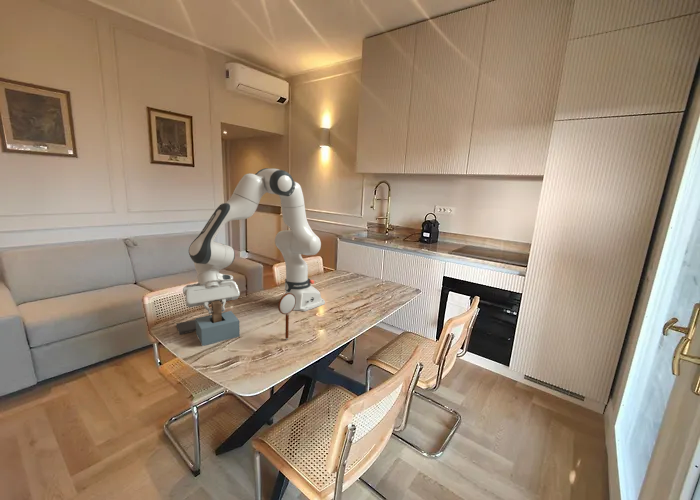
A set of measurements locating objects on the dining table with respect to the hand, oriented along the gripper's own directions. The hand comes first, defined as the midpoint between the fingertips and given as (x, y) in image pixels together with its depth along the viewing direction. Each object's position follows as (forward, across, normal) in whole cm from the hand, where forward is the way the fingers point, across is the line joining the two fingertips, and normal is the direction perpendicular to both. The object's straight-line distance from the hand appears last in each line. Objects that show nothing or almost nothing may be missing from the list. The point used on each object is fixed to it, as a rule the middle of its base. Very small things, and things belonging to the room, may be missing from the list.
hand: (217, 312), depth 118 cm
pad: (-2, -8, +17) cm, 19 cm away
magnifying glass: (+20, +22, -5) cm, 30 cm away
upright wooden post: (+3, 0, +4) cm, 5 cm away
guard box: (+7, 0, +8) cm, 10 cm away
